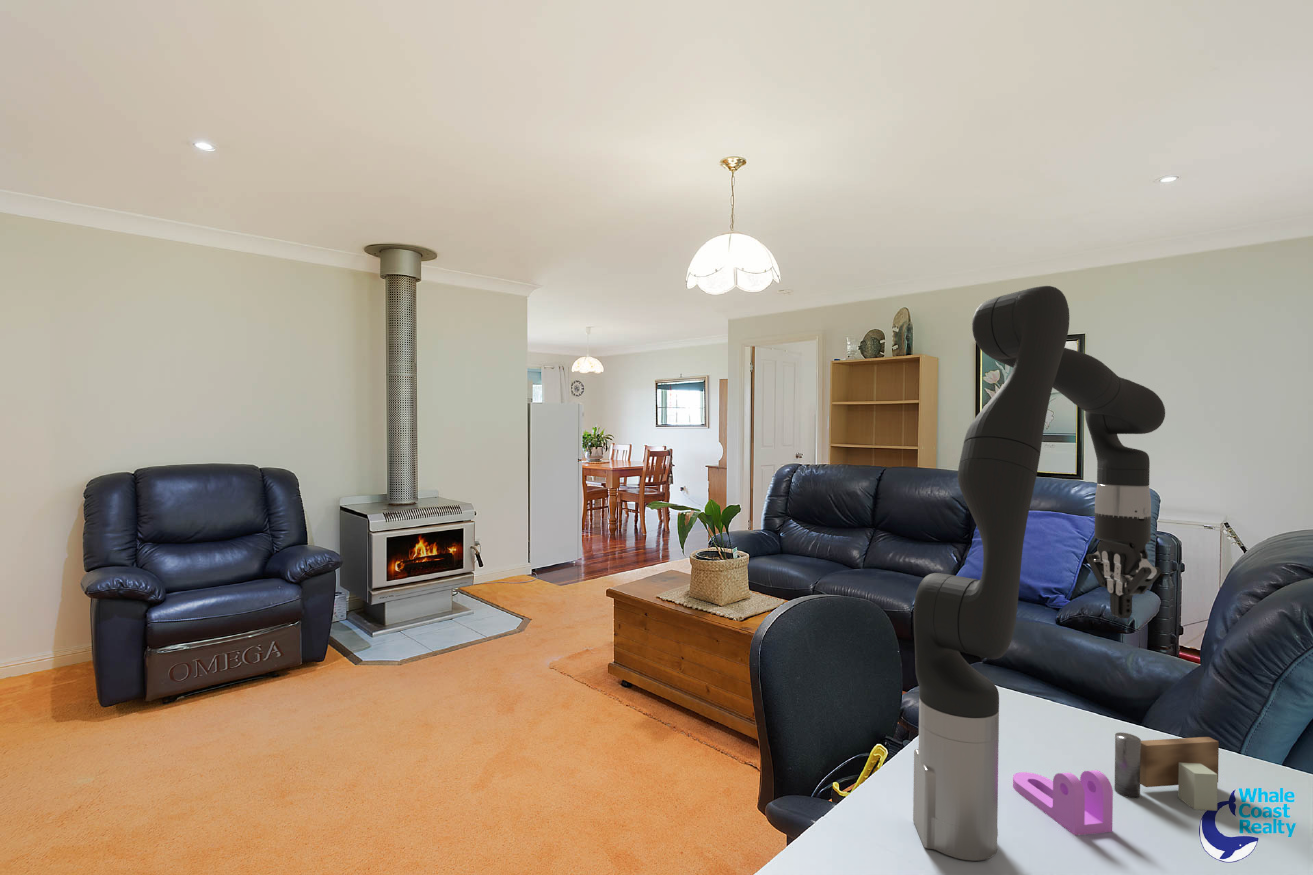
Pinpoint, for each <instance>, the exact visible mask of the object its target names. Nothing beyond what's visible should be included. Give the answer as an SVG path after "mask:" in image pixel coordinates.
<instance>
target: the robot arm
mask: <svg viewBox="0 0 1313 875" xmlns="http://www.w3.org/2000/svg"><path fill="white" fill-rule="evenodd" d="M971 327H972V328H971V330H972V335H973V338H974V341H975V344H976V345H977V347H978V348H979V349H980V350H981V352H983V353H984V354H985V356H988V357H989V358H991V359H992V360H995V361H997V362H999V363H1001V364H1004V365H1006V366H1008V367H1011V368H1012V369H1011V371H1010V373H1009V375H1008V377H1007V378H1006V380H1005V382H1004V383H1003V384H1002V385H1001V387H1000V388H999V389H998V390H997V391H996V393H995V394H994V395H993V396H992V397H991V398H990V399H989V401H988V402H987V404H985V405H984V406H983V408H982V409H981V410H980V412H979V413H978V414H977V415H976V416H975V418H974V420H973V421H972V422H971V424H970V425H969V426H968V428H967V431H966V433H965V437H964V440H963V445H962V450H961V455H960V460H959V464H958V470H957V483H958V486H959V489H960V492H961V495H962V496H963V499H964V502H965V504H966V505H967V508H968V510H969V512H970V514H971V516H972V519H973V520H974V523H975V525H976V528H977V530H978V533H979V536H980V540H981V544H982V551H983V553H982V554H983V555H982V556H983V557H982V558H983V560H982V561H983V564H982V572H981V576H980V579H977V578H972V577H971V578H970V577H965V576H959V575H954V574H949V573H947V574H946V573H942V572H941V573H940V572H934V573H930V574H928V575H926V576H925V577H923V579H922V580H920V583H919V585H918V586H917V590H916V592H915V598H914V602H913V637H914V657H915V658H914V660H915V661H914V662H915V663H914V664H915V665H914V666H915V675H916V676H915V677H916V680H917V684H918V696H919V697H918V699H919V700H918V749H914V751H913V793H912V794H913V798H912V800H913V801H912V802H913V807H912V811H913V812H912V813H913V814H912V820H913V823H914V826H915V828H916V831H917V833H918V836H919V838H920V840H921V843H922V845H923V847H924V848H925V849H928V850H929V849H932V850H935V851H938V852H940V853H942V854H944V855H945V856H948V857H951V858H955V859H959V860H962V861H963V860H964V861H984V860H988V859H990V858H992V857H994V855H996V853H997V851H998V837H999V834H998V833H999V832H998V831H999V830H998V815H999V813H998V812H999V810H998V809H999V808H998V806H999V798H998V797H999V746H1000V745H999V736H1000V729H999V728H1000V693H999V689H998V687H997V685H995V683H994V682H993V681H992V680H991V679H989V677H986V676H985V675H983V674H982V673H981V672H980V671H978V670H976V668H974V667H973V666H972V665H970V664H969V663H968V661H967V660H966V659H965V658H964V657H963V655H961V653H964V654H967V655H968V654H969V655H972V656H976V657H980V658H983V659H984V658H985V659H988V660H989V659H990V660H997V659H1000V658H1002V657H1003V656H1004V655H1005V654H1006V652H1007V651H1008V649H1009V648H1010V645H1011V642H1012V640H1013V636H1014V632H1015V628H1016V622H1017V613H1018V604H1019V592H1020V582H1021V571H1022V570H1021V569H1022V560H1023V558H1022V557H1023V549H1024V542H1025V534H1026V528H1027V525H1028V524H1027V523H1028V517H1029V512H1030V508H1031V504H1032V499H1033V494H1034V489H1035V484H1036V480H1037V476H1038V470H1039V464H1040V459H1041V458H1040V457H1041V451H1042V442H1043V436H1044V430H1045V425H1046V419H1047V414H1048V410H1049V404H1050V399H1051V396H1052V391H1053V389H1054V390H1056V391H1057V392H1059V393H1060V394H1062V395H1063V397H1065V398H1066V399H1068V400H1069V401H1070V402H1072V403H1073V404H1074V405H1076V407H1078V408H1079V409H1081V410H1082V411H1085V413H1084V417H1085V421H1086V426H1087V429H1088V432H1089V434H1090V438H1091V441H1092V444H1093V445H1092V446H1093V448H1094V454H1095V456H1096V462H1097V466H1096V467H1097V469H1096V491H1095V496H1094V537H1095V538H1096V539H1097V540H1099V543H1098V544H1097V549H1096V550H1097V551H1096V552H1094V553H1087V554H1086V556H1085V559H1086V561H1087V562H1088V565H1089V566H1090V568H1091V571H1092V573H1093V574H1094V577H1095V578H1096V581H1097V582H1098V584H1099V586H1100V587H1104V588H1105V589H1107V592H1109V597H1110V598H1109V610H1110V613H1111V616H1113V617H1116V618H1119V619H1129V618H1131V616H1132V613H1133V597H1134V596H1135V595H1144V594H1145V592H1147V590H1149V588H1150V587H1151V586H1152V585H1153V584H1154V582H1155V581H1156V580H1157V579H1158V577H1159V576H1160V575H1161V574H1162V570H1161V568H1160V567H1158V566H1153V565H1152V564H1151V563H1150V561H1149V560H1148V558H1149V554H1148V551H1147V550H1146V549H1147V548H1146V546H1147V545H1148V543H1150V542H1151V533H1152V532H1151V531H1152V530H1151V529H1152V528H1151V527H1152V526H1151V525H1152V524H1151V523H1152V498H1151V489H1150V469H1151V468H1150V455H1149V454H1148V453H1147V451H1144V450H1142V449H1137V448H1133V447H1128V446H1125V445H1123V443H1122V442H1121V441H1120V439H1119V436H1118V435H1144V434H1150V433H1152V432H1155V431H1156V430H1158V429H1159V428H1160V427H1161V426H1162V424H1163V422H1164V420H1165V418H1166V408H1165V405H1164V402H1163V401H1162V399H1161V398H1160V396H1159V395H1158V394H1157V393H1156V392H1155V391H1153V390H1151V389H1150V388H1148V387H1146V386H1144V385H1142V384H1139V383H1138V382H1137V383H1136V382H1134V381H1132V380H1130V379H1127V378H1124V377H1120V376H1118V374H1116V373H1115V372H1114V371H1113V370H1112V369H1111V368H1109V367H1108V366H1107V365H1105V363H1103V362H1102V361H1101V360H1100V359H1097V358H1096V357H1093V356H1092V355H1089V354H1087V353H1084V352H1081V351H1078V350H1075V349H1071V348H1068V347H1065V346H1066V344H1067V338H1068V334H1069V329H1070V308H1069V303H1068V300H1067V298H1066V295H1065V294H1064V293H1063V291H1061V290H1060V289H1059V288H1057V287H1055V286H1051V285H1041V286H1036V287H1034V286H1033V287H1030V288H1027V289H1022V290H1019V291H1016V292H1011V293H1007V294H1003V295H1001V296H996V297H994V298H991V299H989V300H986V301H984V302H982V303H980V304H979V306H978V307H977V308H976V309H975V311H974V314H973V316H972V323H971Z"/></svg>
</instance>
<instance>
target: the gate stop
mask: <svg viewBox="0 0 1313 875" xmlns="http://www.w3.org/2000/svg"><path fill="white" fill-rule="evenodd" d="M1218 783H1219V773H1218V774H1216V773H1215V772H1213V771H1211V770H1210V769H1208V768H1207V767H1205V766H1204V765H1202V764H1199V763H1179V778H1178V785H1177V787H1178V788H1177V789H1178V791H1177V794H1178V796H1177V798H1179V800H1181V801H1182V802H1184V803H1185V804H1186V805H1188V806H1189V807H1190V808H1192V809H1193V810H1198V811H1218Z"/></svg>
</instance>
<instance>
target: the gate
mask: <svg viewBox="0 0 1313 875" xmlns="http://www.w3.org/2000/svg"><path fill="white" fill-rule="evenodd" d="M1219 742H1220V741H1219V740H1216V739H1214V738H1212V737H1210V736H1198V737H1184V738H1183V737H1182V738H1180V737H1179V738H1166V739H1164V738H1163V739H1162V738H1161V739H1148V740H1147V739H1146V740H1141V766H1140V786H1141V785H1142V786H1143V787H1145V788H1155V787H1169V786H1170V787H1171V786H1178V778H1179V763H1199V764H1202V765H1204V766H1205V767H1207V768H1208V769H1210V770H1211V771H1213V772H1215V773H1216V774H1218V775H1219V754H1220V752H1219V751H1220V750H1219V746H1220V745H1219V744H1220V743H1219Z"/></svg>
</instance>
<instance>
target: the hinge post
mask: <svg viewBox="0 0 1313 875" xmlns="http://www.w3.org/2000/svg"><path fill="white" fill-rule="evenodd" d="M1114 735H1115V736H1114V739H1115V740H1114V791H1115V792H1116V793H1117V794H1118V795H1121V796H1123V797H1127V798H1130V799H1138V798H1140V797H1141V784H1140V766H1141V741H1142V739H1141V738H1140V737H1139V736H1136V735H1134V734H1131V733H1128V732H1116V733H1115V734H1114Z"/></svg>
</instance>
